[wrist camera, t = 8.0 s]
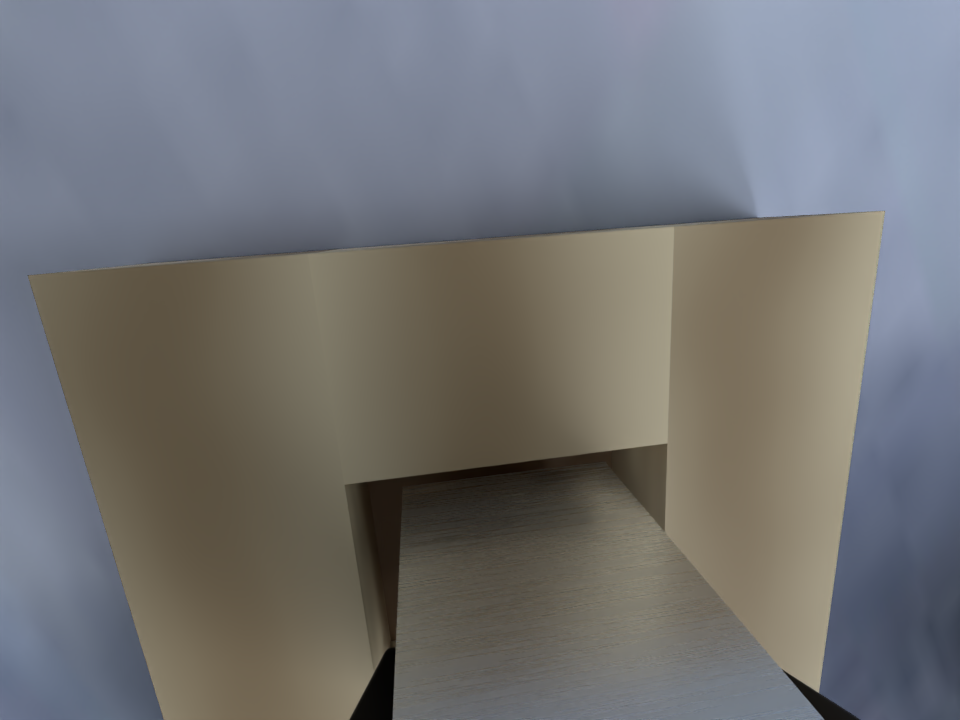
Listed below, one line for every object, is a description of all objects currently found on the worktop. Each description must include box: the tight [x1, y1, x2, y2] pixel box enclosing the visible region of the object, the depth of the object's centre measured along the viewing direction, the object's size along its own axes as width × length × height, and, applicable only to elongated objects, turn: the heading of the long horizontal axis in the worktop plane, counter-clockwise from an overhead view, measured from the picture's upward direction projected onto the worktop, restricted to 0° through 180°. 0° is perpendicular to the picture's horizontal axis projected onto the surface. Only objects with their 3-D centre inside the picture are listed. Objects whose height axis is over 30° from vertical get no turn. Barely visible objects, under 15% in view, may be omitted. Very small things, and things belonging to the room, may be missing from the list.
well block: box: [28, 211, 885, 720], centre depth 10 cm, size 13×13×3 cm
